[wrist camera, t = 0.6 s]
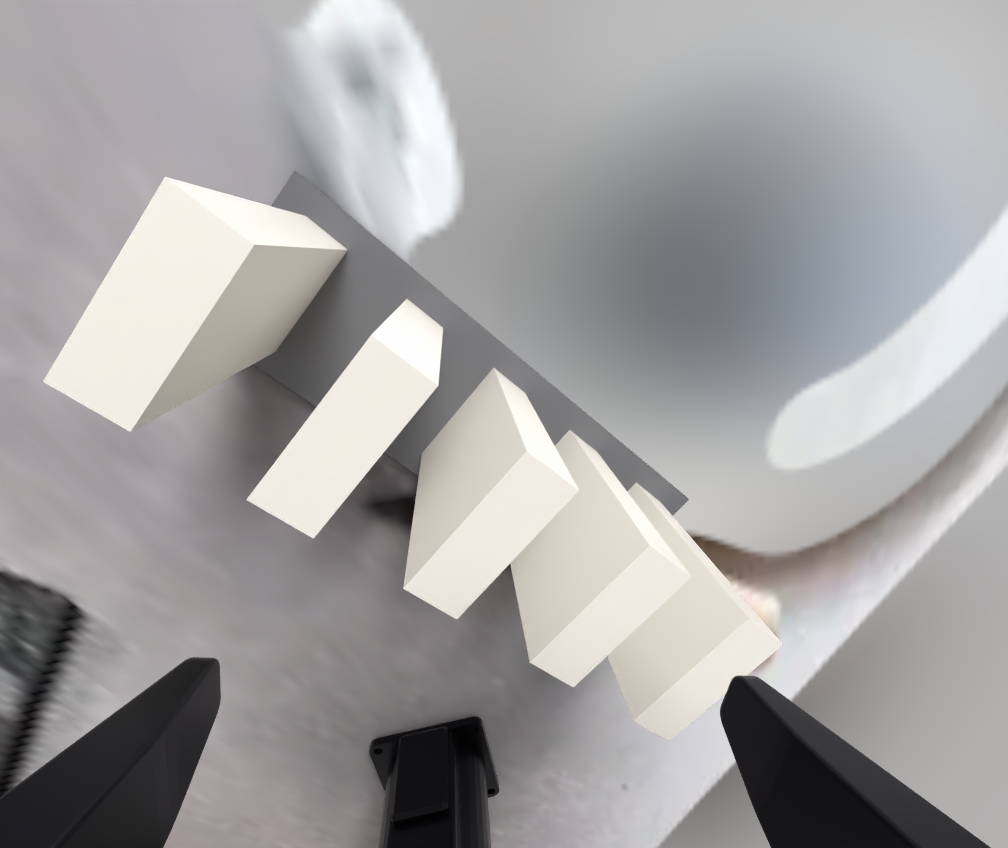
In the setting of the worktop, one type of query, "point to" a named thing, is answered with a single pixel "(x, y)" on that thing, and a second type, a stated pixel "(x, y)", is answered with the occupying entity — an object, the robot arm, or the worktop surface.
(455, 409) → the strip
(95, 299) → the domino
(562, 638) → the domino
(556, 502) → the domino
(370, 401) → the domino
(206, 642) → the worktop surface
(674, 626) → the domino
